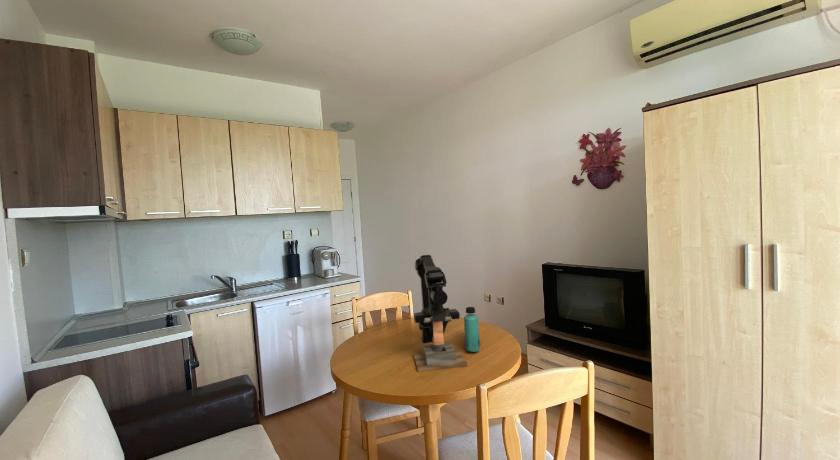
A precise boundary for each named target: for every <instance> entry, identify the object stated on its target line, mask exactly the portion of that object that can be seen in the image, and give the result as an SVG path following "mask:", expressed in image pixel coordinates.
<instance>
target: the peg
mask: <svg viewBox="0 0 840 460" xmlns="http://www.w3.org/2000/svg"><path fill="white" fill-rule="evenodd" d="M431 320H432V329H433V342H432V343H433V344H434V345H441V344H444V343H445V342H444V341H445V340H444V335H443V322H442V321H439V322H434V321H433V319H431Z"/></svg>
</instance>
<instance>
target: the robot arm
mask: <svg viewBox="0 0 840 460" xmlns="http://www.w3.org/2000/svg"><path fill="white" fill-rule="evenodd" d="M432 257H433V256H432V255H430V254H423V255H420V256H419V258H417V259H416V260H415V261H414V270H415V271H416V274H417V276H418V277H419V278H420V290H421V291H420V292H421V304H422V308H421V310H420V312H414V313H413V320H414V322H415V323H416V324H418V329H419V330H420V331H421V335H422V337H421V342H422V344H425V343H433V329H432V320H431V319H433V321H434V322H439V321H442V322H443V336H445V331H446V329H447V325H448V324H449V323H450V322H451V321H452V320H459V319H460V318H461V316H460V312H459V310H458V309H456V308H452V309H451V308H449V307H445V308H444V305H445V304H446V303H447V302H448V299H449V298H448V294H447V293H446V291H444V289H443V288H445V287H447V283H448V282H447V278H446V274H445V272H444V271H442V269H441V268H440V267H438V266H436V265H435V263H434V260H433V258H432Z"/></svg>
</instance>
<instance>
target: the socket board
mask: <svg viewBox="0 0 840 460" xmlns="http://www.w3.org/2000/svg"><path fill="white" fill-rule="evenodd" d="M413 357H414V361H415V365H416V369H417V372H418V373H419V372H420V373H421V372H429V371H438V370H445V369H447V370H448V369H455V368H464V367H468V363H467V360H465V357H464V356H463V355H462V352H461V351H460V350H459V348H453V346H452V344H451V343H450V342H444V344H441V345H434V343H433V344H424V345H422V352H417V353H413Z"/></svg>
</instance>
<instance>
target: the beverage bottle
mask: <svg viewBox="0 0 840 460" xmlns="http://www.w3.org/2000/svg"><path fill="white" fill-rule="evenodd" d="M465 313H466V315H465V316H464V317H463V323H464V325H465V330H464V345H465V349H466V351H468V352H473V353H474V352H479V351H481V340H480V324H479V317H478V315H476V307H474V306H468V307H465ZM464 325H463V326H464Z"/></svg>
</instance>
